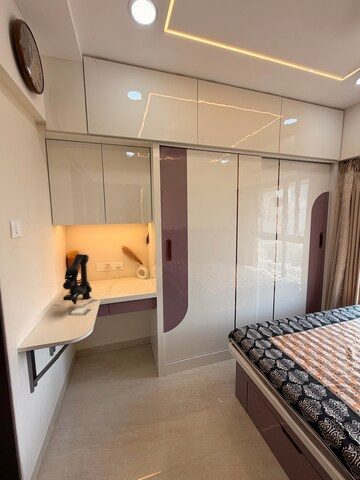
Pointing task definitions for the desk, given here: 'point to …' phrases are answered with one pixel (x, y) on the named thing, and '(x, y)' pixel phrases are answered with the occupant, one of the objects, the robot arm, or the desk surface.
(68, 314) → the rubber mat
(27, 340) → the desk surface
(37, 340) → the desk surface
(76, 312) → the glazed tile
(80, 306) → the caliper
